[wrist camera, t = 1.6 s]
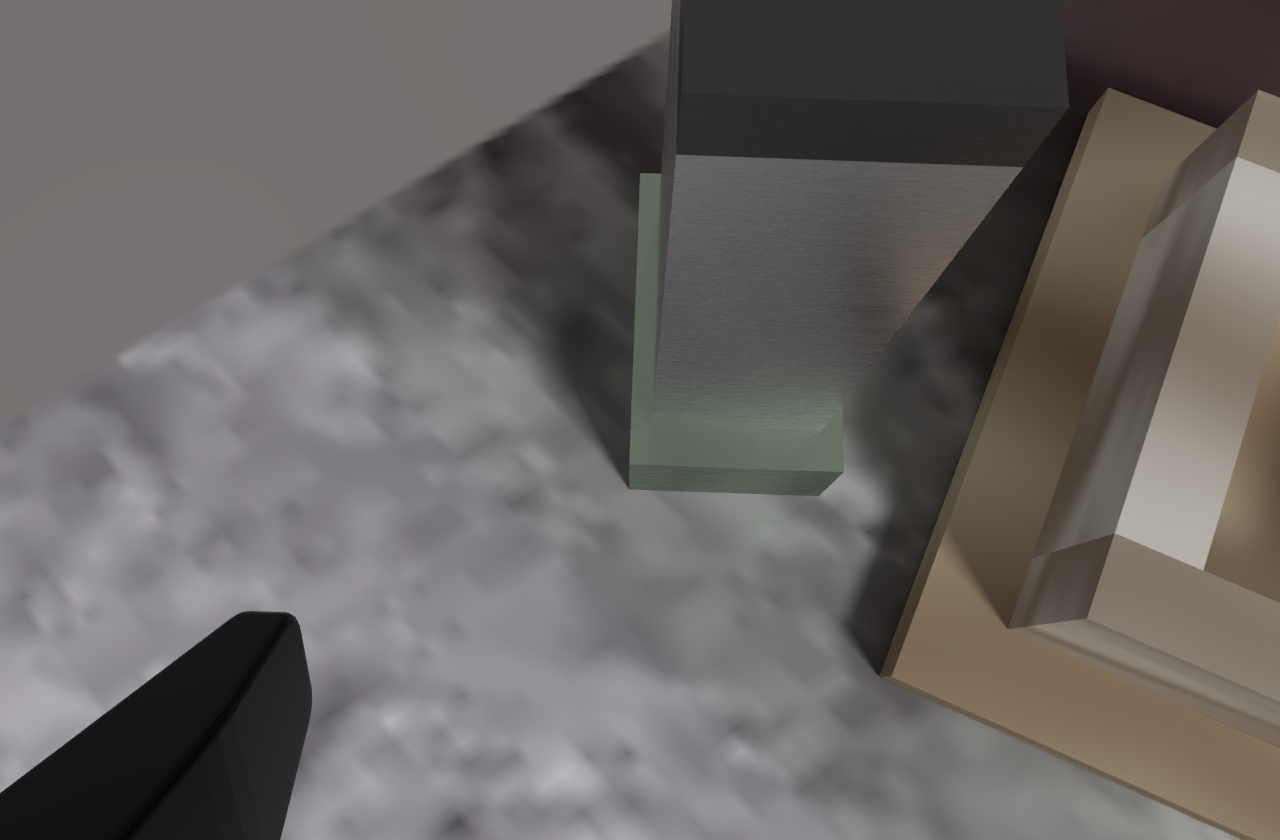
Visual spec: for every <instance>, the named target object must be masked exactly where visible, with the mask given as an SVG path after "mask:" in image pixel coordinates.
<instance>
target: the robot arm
mask: <svg viewBox="0 0 1280 840" xmlns="http://www.w3.org/2000/svg"><path fill="white" fill-rule="evenodd" d="M311 708H312V688H311V682H310V677H309V672H308V666H307V661H306V655H305V650H304V645H303V639H302V634H301V629H300V625H299V623H298V621H297V619H296V617H294V616H293V615H291V614H289V613H286V612H260V611H247V612H242V613H239V614H237V615H235V616H234V617H232V618H231V619H229V620H228V621H227V622H225V623H224V624H223V625H221V626H220V627H219V628H217V629H216V630H215V631H214V632H212V633H211V634H210V635H208V636H207V637H206V638H204V639H203V640H202V641H200V642H199V643H198V644H196V645H195V646H194V647H192V648H191V649H190V650H188V651H187V652H186V653H184V654H183V655H182V656H181V657H179V658H178V659H177V660H175V661H174V662H173V663H171V664H170V665H169V666H167V667H166V668H165V669H163V670H162V671H161V672H159V673H158V674H157V675H155V676H154V677H153V678H151V679H150V680H149V681H148V682H146V683H145V684H144V685H142V686H141V687H140V688H138V689H137V690H136V691H134V692H133V693H132V694H130V695H129V696H128V697H126V698H125V699H124V700H122V701H121V702H120V703H118V704H117V705H116V706H115V707H113V708H112V709H111V710H109V711H108V712H107V713H105V714H104V715H103V716H101V717H100V718H99V719H97V720H96V721H95V722H93V723H92V724H91V725H89V726H88V727H87V728H85V729H84V730H83V731H82V732H80V733H79V734H78V735H76V736H75V737H74V738H72V739H71V740H70V741H68V742H67V743H66V744H64V745H63V746H62V747H60V748H59V749H58V750H56V751H55V752H54V753H52V754H51V755H50V756H49V757H47V758H46V759H45V760H43V761H42V762H41V763H39V764H38V765H37V766H35V767H34V768H33V769H31V770H30V771H29V772H27V773H26V774H25V775H23V776H22V777H21V778H19V779H18V780H17V781H16V782H14V783H13V784H12V785H10V786H9V787H8V788H6V789H5V790H4V791H2V792H1V793H0V840H280V839H281V835H282V831H283V827H284V823H285V819H286V814H287V810H288V806H289V802H290V798H291V794H292V790H293V786H294V782H295V778H296V774H297V770H298V766H299V762H300V758H301V754H302V749H303V745H304V741H305V737H306V733H307V729H308V725H309V721H310V716H311Z"/></svg>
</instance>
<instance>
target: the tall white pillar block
mask: <svg viewBox="0 0 1280 840" xmlns="http://www.w3.org/2000/svg"><path fill="white" fill-rule="evenodd" d="M1068 108H1069V97H1068V85H1067V73H1066V60H1065V48H1064V36H1063V24H1062V12H1061V0H672V10H671V26H670V42H669V58H668V73H667V89H666V105H665V121H664V136H663V152H662V168H661V174H653V173H640V190H639V217H638V244H637V270H636V297H635V324H634V350H633V377H632V404H631V430H630V457H629V489H638V490H666V491H694V492H722V493H751V494H779V495H807V496H819V495H820V494H822V493H823V492H824V491H825V490H826V489H827V488H828V487H829V486H830V485H831V484H832V483H833V482H834V481H835V480H836V479H837V478H838V477H839V476H840V475H841V474H842V473H843V472H844V468H843V411H842V403H843V401H844V400H845V399H846V397H847V396H848V395H849V393H850V392H851V391H852V390H853V388H854V387H855V386H856V384H857V383H858V382H859V380H860V379H861V378H862V377H863V375H864V374H865V373H866V371H867V370H868V369H869V367H870V366H871V365H872V364H873V362H874V361H875V360H876V358H877V357H878V356H879V354H880V353H881V352H882V351H883V349H884V348H885V347H886V345H887V344H888V343H889V341H890V340H891V339H892V338H893V336H894V335H895V334H896V332H897V331H898V330H899V328H900V327H901V326H902V324H903V323H904V322H905V321H906V319H907V318H908V317H909V315H910V314H911V313H912V311H913V310H914V309H915V308H916V306H917V305H918V304H919V302H920V301H921V300H922V298H923V297H924V296H925V295H926V293H927V292H928V291H929V289H930V288H931V287H932V285H933V284H934V283H935V282H936V280H937V279H938V278H939V276H940V275H941V274H942V272H943V271H944V270H945V269H946V267H947V266H948V265H949V263H950V262H951V261H952V259H953V258H954V257H955V256H956V254H957V253H958V252H959V250H960V249H961V248H962V246H963V245H964V244H965V243H966V241H967V240H968V239H969V237H970V236H971V235H972V233H973V232H974V231H975V229H976V228H977V227H978V226H979V224H980V223H981V222H982V220H983V219H984V218H985V216H986V215H987V214H988V213H989V211H990V210H991V209H992V207H993V206H994V205H995V203H996V202H997V201H998V200H999V198H1000V197H1001V196H1002V194H1003V193H1004V192H1005V190H1006V189H1007V188H1008V187H1009V185H1010V184H1011V183H1012V181H1013V180H1014V179H1015V177H1016V176H1017V175H1018V174H1019V172H1020V171H1021V170H1022V168H1023V167H1024V166H1025V164H1026V163H1027V162H1028V161H1029V159H1030V158H1031V157H1032V155H1033V154H1034V153H1035V151H1036V150H1037V149H1038V148H1039V146H1040V145H1041V144H1042V142H1043V141H1044V140H1045V138H1046V137H1047V136H1048V134H1049V133H1050V132H1051V131H1052V129H1053V128H1054V127H1055V125H1056V124H1057V123H1058V121H1059V120H1060V119H1061V118H1062V116H1063V115H1064V114H1065V112H1066V111H1067V110H1068Z"/></svg>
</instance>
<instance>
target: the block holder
mask: <svg viewBox="0 0 1280 840" xmlns="http://www.w3.org/2000/svg"><path fill="white" fill-rule="evenodd" d="M879 677H880V678H883V679H885V680H887V681H889V682H892V683H894V684H896V685H898V686H900V687H903V688H905V689H907V690H909V691H912V692H914V693H916V694H918V695H921V696H923V697H925V698H927V699H930V700H932V701H934V702H936V703H938V704H941V705H943V706H945V707H947V708H950V709H952V710H954V711H956V712H959V713H961V714H963V715H965V716H967V717H970V718H972V719H974V720H976V721H979V722H981V723H983V724H985V725H988V726H990V727H992V728H994V729H997V730H999V731H1001V732H1003V733H1005V734H1008V735H1010V736H1012V737H1014V738H1017V739H1019V740H1021V741H1023V742H1026V743H1028V744H1030V745H1032V746H1034V747H1037V748H1039V749H1041V750H1043V751H1046V752H1048V753H1050V754H1052V755H1055V756H1057V757H1059V758H1061V759H1064V760H1066V761H1068V762H1070V763H1072V764H1075V765H1077V766H1079V767H1081V768H1084V769H1086V770H1088V771H1090V772H1093V773H1095V774H1097V775H1099V776H1101V777H1104V778H1106V779H1108V780H1110V781H1113V782H1115V783H1117V784H1119V785H1122V786H1124V787H1126V788H1128V789H1131V790H1133V791H1135V792H1137V793H1139V794H1142V795H1144V796H1146V797H1148V798H1151V799H1153V800H1155V801H1157V802H1160V803H1162V804H1164V805H1166V806H1168V807H1171V808H1173V809H1175V810H1177V811H1180V812H1182V813H1184V814H1186V815H1189V816H1191V817H1193V818H1195V819H1198V820H1200V821H1202V822H1204V823H1206V824H1209V825H1211V826H1213V827H1215V828H1218V829H1220V830H1222V831H1224V832H1227V833H1229V834H1231V835H1233V836H1235V837H1238V838H1240V839H1242V840H1280V98H1279V97H1276V96H1273V95H1271V94H1268V93H1265V92H1263V91H1260V90H1258V91H1257V92H1256V93H1255V94H1254V95H1253V96H1252V97H1250V98H1249V99H1248V100H1247V101H1246V102H1245V103H1244V104H1243V105H1242V106H1241V107H1240V108H1239V109H1238V110H1237V111H1236V112H1234V113H1233V114H1232V115H1231V116H1230V117H1229V118H1228V119H1227V120H1226V121H1225V122H1224V123H1223V124H1222V125H1221V126H1220V127H1219V128H1217V129H1216V128H1213V127H1211V126H1208V125H1206V124H1203V123H1200V122H1198V121H1195V120H1192V119H1190V118H1187V117H1185V116H1182V115H1179V114H1177V113H1174V112H1171V111H1169V110H1166V109H1164V108H1161V107H1158V106H1156V105H1153V104H1150V103H1148V102H1145V101H1143V100H1140V99H1137V98H1135V97H1132V96H1129V95H1127V94H1124V93H1122V92H1119V91H1116V90H1114V89H1111V88H1108V89H1107V90H1106V91H1105V92H1104V94H1103V95H1102V96H1101V97H1100V99H1099V100H1098V101H1097V102H1096V104H1095V105H1094V106H1093V107H1092V108H1091V110H1090V111H1089V112H1088V115H1087V118H1086V121H1085V123H1084V126H1083V129H1082V131H1081V134H1080V137H1079V139H1078V142H1077V145H1076V147H1075V150H1074V153H1073V156H1072V158H1071V161H1070V164H1069V166H1068V169H1067V172H1066V174H1065V177H1064V180H1063V182H1062V185H1061V188H1060V191H1059V193H1058V196H1057V199H1056V201H1055V204H1054V207H1053V209H1052V212H1051V215H1050V218H1049V220H1048V223H1047V226H1046V228H1045V231H1044V234H1043V236H1042V239H1041V242H1040V244H1039V247H1038V250H1037V253H1036V255H1035V258H1034V261H1033V263H1032V266H1031V269H1030V271H1029V274H1028V277H1027V279H1026V282H1025V285H1024V288H1023V290H1022V293H1021V296H1020V298H1019V301H1018V304H1017V306H1016V309H1015V312H1014V315H1013V317H1012V320H1011V323H1010V325H1009V328H1008V331H1007V333H1006V336H1005V339H1004V341H1003V344H1002V347H1001V350H1000V352H999V355H998V358H997V360H996V363H995V366H994V368H993V371H992V374H991V376H990V379H989V382H988V385H987V387H986V390H985V393H984V395H983V398H982V401H981V403H980V406H979V409H978V411H977V414H976V417H975V420H974V422H973V425H972V428H971V430H970V433H969V436H968V438H967V441H966V444H965V447H964V449H963V452H962V455H961V457H960V460H959V463H958V465H957V468H956V471H955V473H954V476H953V479H952V482H951V484H950V487H949V490H948V492H947V495H946V498H945V500H944V503H943V506H942V508H941V511H940V514H939V517H938V519H937V522H936V525H935V527H934V530H933V533H932V535H931V538H930V541H929V543H928V546H927V549H926V552H925V554H924V557H923V560H922V562H921V565H920V568H919V570H918V573H917V576H916V579H915V581H914V584H913V587H912V589H911V592H910V595H909V597H908V600H907V603H906V605H905V608H904V611H903V614H902V616H901V619H900V622H899V624H898V627H897V630H896V632H895V635H894V638H893V640H892V643H891V646H890V649H889V651H888V654H887V657H886V659H885V662H884V665H883V667H882V670H881V673H880V675H879Z"/></svg>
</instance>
